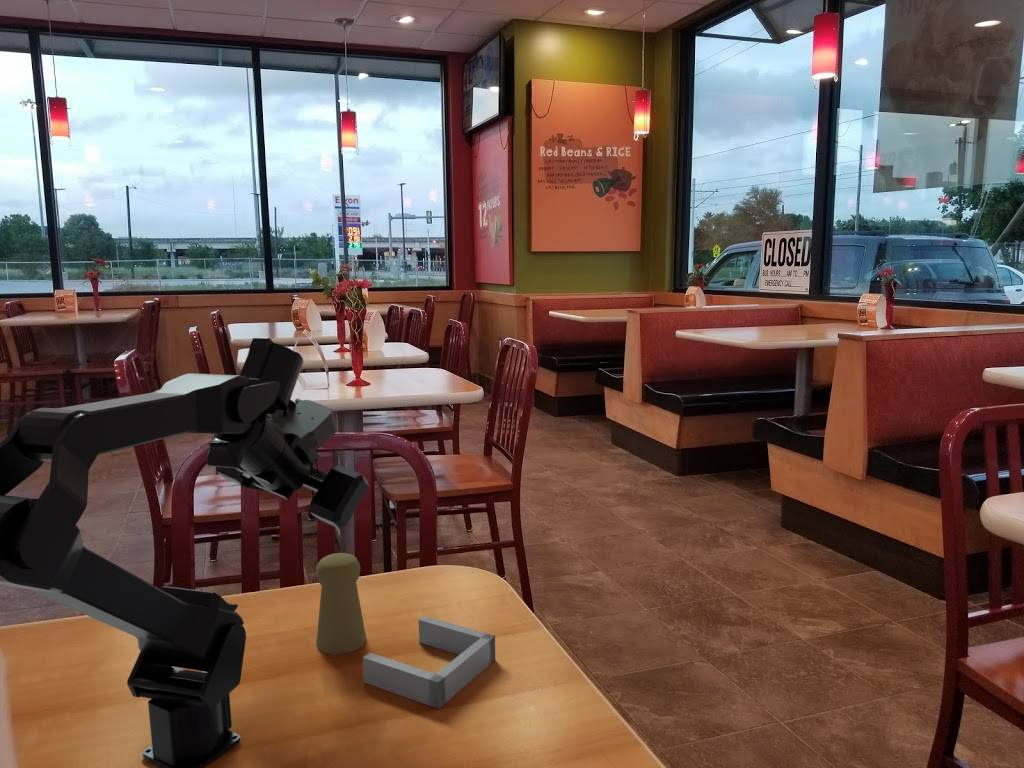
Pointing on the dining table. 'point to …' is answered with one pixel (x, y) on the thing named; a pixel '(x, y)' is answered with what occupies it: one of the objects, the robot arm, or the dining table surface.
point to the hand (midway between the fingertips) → (319, 503)
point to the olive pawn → (339, 605)
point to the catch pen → (449, 680)
